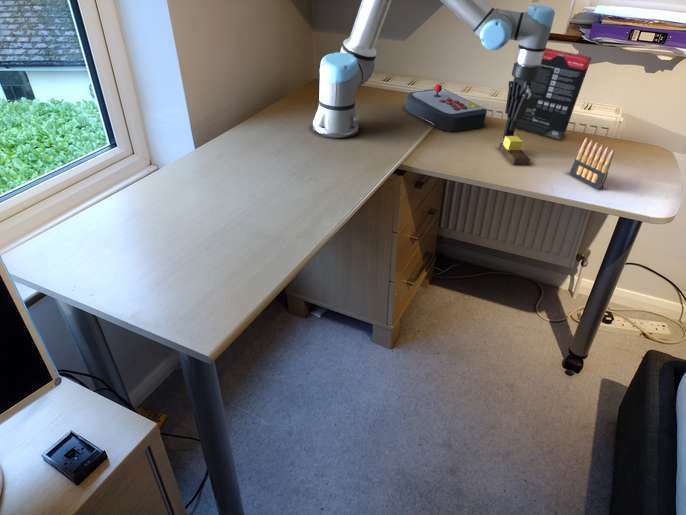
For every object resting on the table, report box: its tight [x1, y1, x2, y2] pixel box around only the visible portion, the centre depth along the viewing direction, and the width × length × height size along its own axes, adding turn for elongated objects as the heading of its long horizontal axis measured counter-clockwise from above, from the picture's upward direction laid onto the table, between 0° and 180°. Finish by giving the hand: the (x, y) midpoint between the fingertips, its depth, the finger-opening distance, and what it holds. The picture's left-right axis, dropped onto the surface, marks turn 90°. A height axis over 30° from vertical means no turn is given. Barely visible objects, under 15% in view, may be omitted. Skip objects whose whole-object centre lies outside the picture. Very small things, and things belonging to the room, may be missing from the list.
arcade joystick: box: [404, 83, 488, 132], centre depth 183 cm, size 28×19×10 cm
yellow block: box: [502, 135, 524, 150], centre depth 161 cm, size 4×4×3 cm
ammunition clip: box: [568, 137, 615, 190], centre depth 147 cm, size 11×2×12 cm, turn 30°
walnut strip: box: [498, 142, 531, 166], centre depth 161 cm, size 12×5×2 cm, turn 8°
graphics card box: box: [515, 47, 592, 141], centre depth 172 cm, size 17×7×27 cm, turn 58°
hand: (507, 138), depth 165 cm, fingers closed
